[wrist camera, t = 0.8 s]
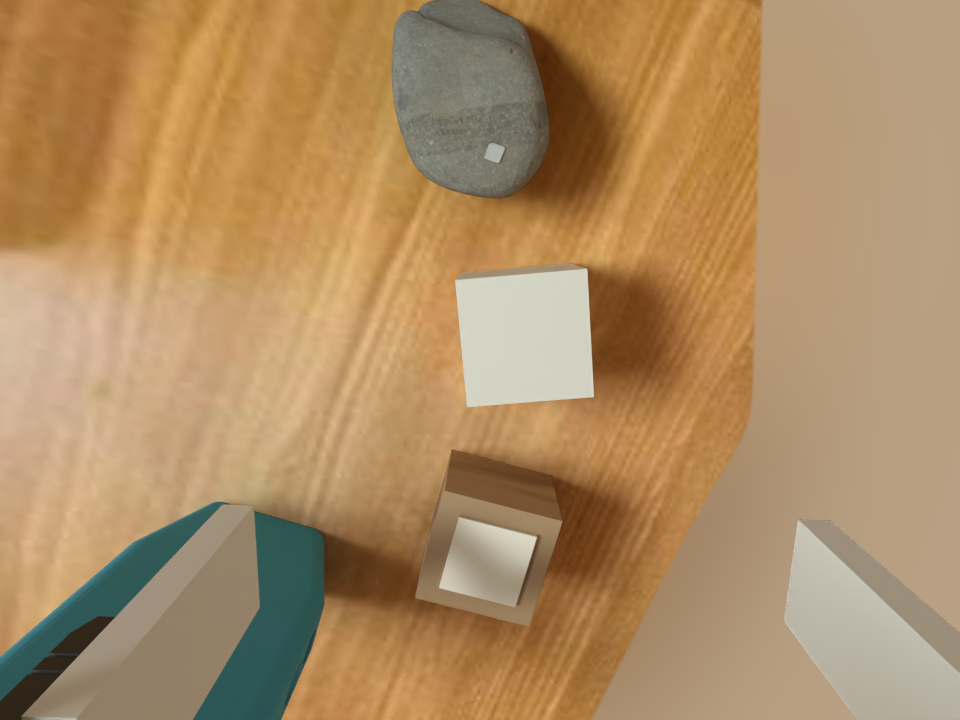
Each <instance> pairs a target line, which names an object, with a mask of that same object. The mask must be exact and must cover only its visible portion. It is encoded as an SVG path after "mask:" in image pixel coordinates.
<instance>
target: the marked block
mask: <svg viewBox="0 0 960 720" xmlns="http://www.w3.org/2000/svg"><path fill="white" fill-rule="evenodd" d="M562 522H563V521H562V517H561V513H560V509H559V505H558V501H557V497H556V493H555V489H554V485H553V481H552V477H551V475H547V474H543V473H539V472H535V471H532V470H528V469H524V468H520V467H516V466H512V465H509V464H505V463H501V462H497V461H493V460H490V459H486V458H482V457H478V456H474V455H470V454H467V453H463V452H459V451H455V450H451V454H450V458H449V461H448V465H447V469H446V472H445V476H444V480H443V483H442V487H441V491H440V494H439V498H438V502H437V505H436V509H435V512H434V516H433V520H432V523H431V527H430V531H429V534H428V538H427V542H426V547H425V551H424V556H423V561H422V566H421V571H420V575H419V580H418V585H417V590H416V595H415V598H416V599H420V600H424V601H428V602H432V603H436V604H440V605H444V606H448V607H452V608H456V609H460V610H464V611H468V612H472V613H476V614H480V615H484V616H488V617H492V618H496V619H500V620H504V621H507V622H511V623H515V624H519V625H523V626H527V627H529V625H530V622H531V619H532V616H533V613H534V610H535V606H536V603H537V600H538V597H539V594H540V591H541V588H542V585H543V581H544V578H545V575H546V572H547V569H548V566H549V563H550V559H551V556H552V553H553V550H554V547H555V544H556V541H557V538H558V534H559V531H560V528H561V525H562Z"/></svg>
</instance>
